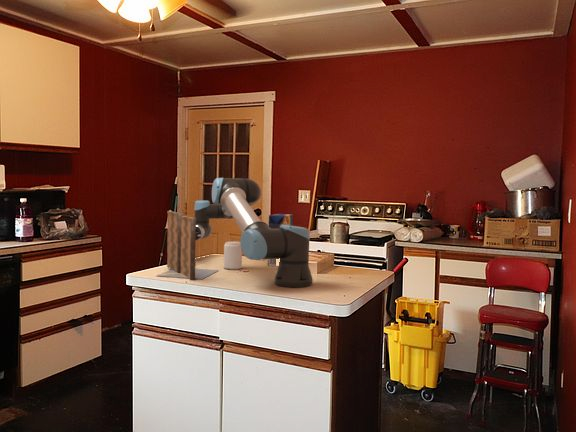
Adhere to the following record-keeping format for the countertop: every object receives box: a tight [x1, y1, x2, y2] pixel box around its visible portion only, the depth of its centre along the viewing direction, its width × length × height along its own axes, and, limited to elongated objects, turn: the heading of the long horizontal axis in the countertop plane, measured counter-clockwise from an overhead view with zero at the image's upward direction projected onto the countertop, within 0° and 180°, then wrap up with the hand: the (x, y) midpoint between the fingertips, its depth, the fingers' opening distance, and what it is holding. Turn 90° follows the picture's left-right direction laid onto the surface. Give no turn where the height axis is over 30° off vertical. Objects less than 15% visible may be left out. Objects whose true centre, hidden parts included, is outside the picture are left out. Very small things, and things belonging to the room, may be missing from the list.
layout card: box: [156, 268, 219, 280], centre depth 223 cm, size 20×20×1 cm
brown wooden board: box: [166, 210, 179, 271], centre depth 227 cm, size 12×1×25 cm, turn 33°
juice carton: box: [267, 213, 294, 267], centre depth 250 cm, size 12×8×24 cm, turn 158°
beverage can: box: [223, 241, 243, 271], centre depth 237 cm, size 8×8×12 cm
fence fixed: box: [177, 212, 197, 281], centre depth 215 cm, size 16×2×26 cm, turn 33°
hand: (174, 238), depth 234 cm, fingers closed
